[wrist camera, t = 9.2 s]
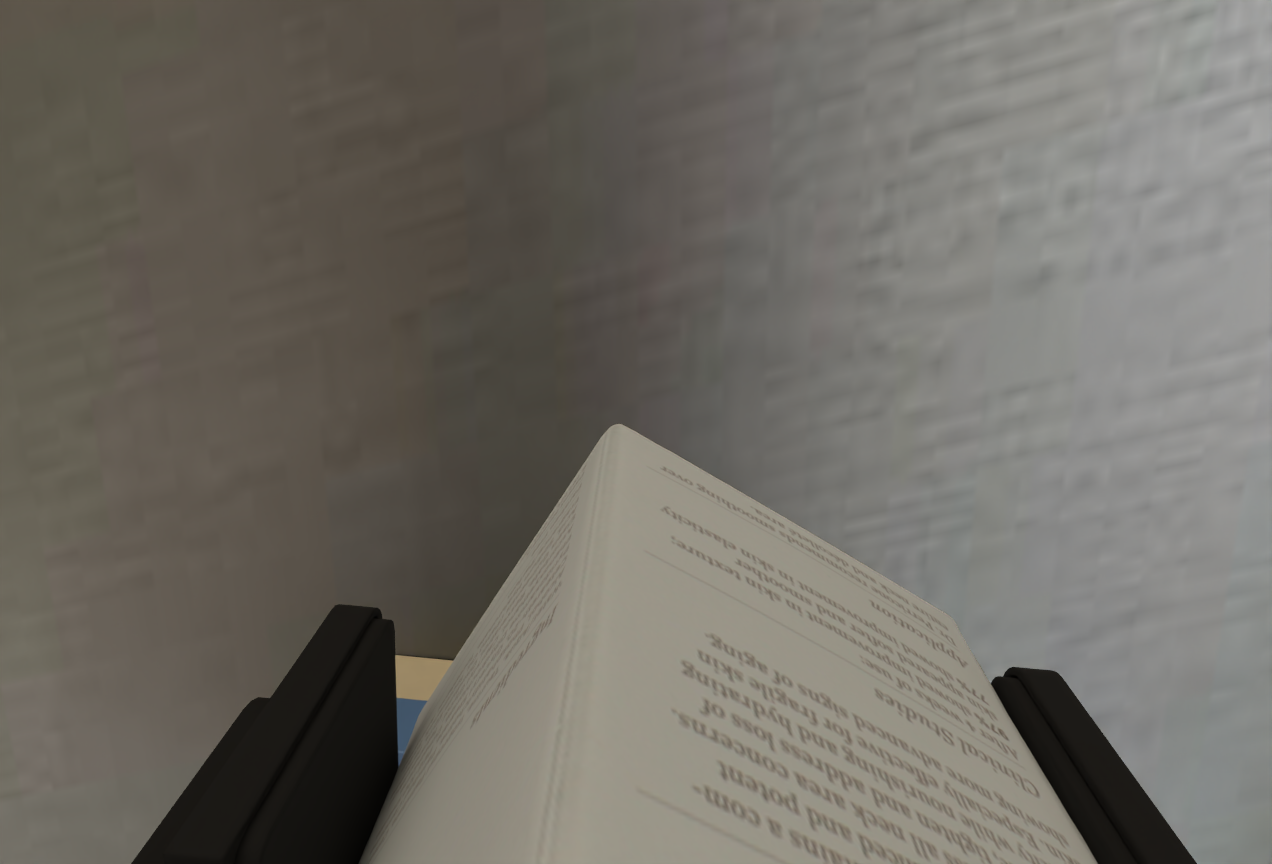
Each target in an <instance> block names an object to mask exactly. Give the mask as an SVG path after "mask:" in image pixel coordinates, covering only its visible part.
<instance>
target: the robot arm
mask: <svg viewBox="0 0 1272 864" xmlns="http://www.w3.org/2000/svg"><path fill="white" fill-rule="evenodd" d="M991 685H992V687H993V688H994V690H995V692H996V694H997V696H998V697H999V699H1000V701H1001V703H1002V705H1003V706H1004V708H1005V710H1006V712H1007V714H1008V715H1009V717H1010V719H1011V720H1012V722H1013V724H1014V725H1015V727H1016V728H1017V730H1018V732H1019V733H1020V735H1021V737H1022V738H1023V740H1024V742H1025V743H1026V745H1027V746H1028V748H1029V750H1030V751H1031V753H1032V755H1033V756H1034V758H1035V760H1036V762H1037V763H1038V765H1039V767H1040V768H1041V770H1042V772H1043V773H1044V775H1045V776H1046V778H1047V780H1048V781H1049V783H1050V785H1051V786H1052V788H1053V790H1054V791H1055V793H1056V795H1057V796H1058V798H1059V800H1060V801H1061V803H1062V805H1063V806H1064V808H1065V810H1066V811H1067V813H1068V815H1069V816H1070V818H1071V820H1072V821H1073V823H1074V824H1075V826H1076V828H1077V829H1078V831H1079V832H1080V834H1081V836H1082V837H1083V839H1084V841H1085V842H1086V844H1087V846H1088V847H1089V849H1090V851H1091V853H1092V854H1093V856H1094V858H1095V860H1096V861H1097V863H1098V864H1197V863H1196V862H1195V860H1194V859H1193V858H1192V856H1191V855H1190V854H1189V852H1188V851H1187V849H1186V848H1185V847H1184V845H1183V844H1182V842H1181V841H1180V840H1179V838H1178V837H1177V836H1176V834H1175V833H1174V831H1173V830H1172V829H1171V827H1170V826H1169V824H1168V823H1167V822H1166V820H1165V819H1164V818H1163V816H1162V815H1161V813H1160V812H1159V811H1158V809H1157V808H1156V807H1155V805H1154V804H1153V802H1152V801H1151V800H1150V798H1149V797H1148V795H1147V794H1146V793H1145V791H1144V790H1143V789H1142V787H1141V786H1140V784H1139V783H1138V782H1137V780H1136V779H1135V777H1134V776H1133V775H1132V773H1131V772H1130V771H1129V769H1128V768H1127V766H1126V765H1125V764H1124V762H1123V761H1122V760H1121V758H1120V757H1119V755H1118V754H1117V753H1116V751H1115V750H1114V748H1113V747H1112V746H1111V744H1110V743H1109V742H1108V740H1107V739H1106V737H1105V736H1104V735H1103V733H1102V732H1101V730H1100V729H1099V728H1098V726H1097V725H1096V724H1095V722H1094V721H1093V719H1092V718H1091V717H1090V715H1089V714H1088V712H1087V711H1086V710H1085V708H1084V707H1083V706H1082V704H1081V703H1080V701H1079V700H1078V699H1077V697H1076V696H1075V695H1074V693H1073V692H1072V690H1071V689H1070V688H1069V686H1068V685H1067V683H1066V682H1065V681H1064V679H1063V678H1062V677H1061V676H1060V675H1059V674H1058V673H1057V672H1054V671H1051V670H1040V669H1030V668H1019V667H1012V668H1009V669H1008V670H1007V671H1006V672H1005V674H1004V676H1003V677H999V676H998V677H995V678H994V679H993V681H992V683H991ZM398 768H399V765H398V731H397V697H396V663H395V630H394V623H393V621H392V620H386V619H382V614H381V611H380V609H378V608H373V607H362V606H352V605H341V604H339V605H336V606H335V607H334V608H333V609H332V610H331V611H330V613H329V614H328V616H327V617H326V619H325V620H324V622H323V623H322V624H321V626H320V627H319V629H318V630H317V632H316V633H315V635H314V636H313V637H312V639H311V640H310V642H309V643H308V645H307V646H306V648H305V649H304V650H303V652H302V653H301V655H300V656H299V658H298V659H297V661H296V662H295V663H294V665H293V666H292V668H291V669H290V671H289V672H288V674H287V675H286V676H285V678H284V679H283V681H282V682H281V684H280V685H279V687H278V688H277V689H276V691H275V692H274V694H273V695H272V697H271V698H260V697H258V698H256V699H254V700H252V701H251V702H250V703H249V704H248V705H247V706H246V707H245V708H244V709H243V710H242V712H241V713H240V715H239V716H238V717H237V719H236V720H235V722H234V723H233V724H232V726H231V727H230V728H229V730H228V731H227V733H226V734H225V735H224V737H223V738H222V739H221V741H220V742H219V744H218V745H217V746H216V748H215V749H214V750H213V752H212V753H211V755H210V756H209V757H208V759H207V760H206V761H205V763H204V764H203V766H202V767H201V768H200V770H199V771H198V773H197V774H196V775H195V777H194V778H193V779H192V781H191V782H190V784H189V785H188V786H187V788H186V789H185V790H184V792H183V793H182V795H181V796H180V797H179V799H178V800H177V801H176V803H175V804H174V806H173V807H172V808H171V810H170V811H169V812H168V814H167V815H166V817H165V818H164V819H163V821H162V822H161V824H160V825H159V826H158V828H157V829H156V830H155V832H154V833H153V835H152V836H151V837H150V839H149V840H148V841H147V843H146V844H145V846H144V847H143V848H142V850H141V851H140V852H139V854H138V855H137V857H136V858H135V859H134V861H133V862H132V863H131V864H359V861H360V859H361V856H362V854H363V851H364V849H365V846H366V844H367V842H368V840H369V837H370V835H371V833H372V830H373V828H374V826H375V823H376V821H377V818H378V816H379V814H380V811H381V809H382V807H383V804H384V802H385V799H386V797H387V795H388V792H389V790H390V788H391V785H392V783H393V780H394V778H395V775H396V773H397V770H398Z"/></svg>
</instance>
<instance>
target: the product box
mask: <svg viewBox="0 0 1272 864" xmlns="http://www.w3.org/2000/svg"><path fill="white" fill-rule="evenodd" d="M359 864H1098V863H1097V861H1096V860H1095V858H1094V856H1093V854H1092V853H1091V851H1090V849H1089V847H1088V846H1087V844H1086V842H1085V841H1084V839H1083V837H1082V836H1081V834H1080V832H1079V831H1078V829H1077V828H1076V826H1075V824H1074V823H1073V821H1072V820H1071V818H1070V816H1069V815H1068V813H1067V811H1066V810H1065V808H1064V806H1063V805H1062V803H1061V801H1060V800H1059V798H1058V796H1057V795H1056V793H1055V791H1054V790H1053V788H1052V786H1051V785H1050V783H1049V781H1048V780H1047V778H1046V776H1045V775H1044V773H1043V772H1042V770H1041V768H1040V767H1039V765H1038V763H1037V762H1036V760H1035V758H1034V756H1033V755H1032V753H1031V751H1030V750H1029V748H1028V746H1027V745H1026V743H1025V742H1024V740H1023V738H1022V737H1021V735H1020V733H1019V732H1018V730H1017V728H1016V727H1015V725H1014V724H1013V722H1012V720H1011V719H1010V717H1009V715H1008V714H1007V712H1006V710H1005V708H1004V706H1003V705H1002V703H1001V701H1000V699H999V697H998V696H997V694H996V692H995V690H994V688H993V687H992V685H991V683H990V682H989V680H988V679H987V677H986V675H985V674H984V672H983V670H982V668H981V666H980V665H979V663H978V662H977V660H976V658H975V657H974V655H973V653H972V652H971V650H970V648H969V647H968V645H967V643H966V642H965V640H964V638H963V636H962V634H961V633H960V631H959V629H958V627H957V625H956V623H955V621H954V620H953V619H952V618H951V616H949V615H947V614H946V613H944V612H942V611H941V610H939V609H937V608H936V607H934V606H932V605H931V604H929V603H927V602H926V601H924V600H922V599H921V598H919V597H917V596H916V595H914V594H912V593H911V592H909V591H907V590H906V589H904V588H902V587H901V586H899V585H897V584H896V583H894V582H892V581H891V580H889V579H887V578H886V577H884V576H882V575H881V574H879V573H877V572H876V571H874V570H872V569H871V568H869V567H867V566H866V565H864V564H862V563H861V562H859V561H857V560H856V559H854V558H852V557H851V556H849V555H847V554H846V553H844V552H842V551H840V550H839V549H837V548H835V547H834V546H832V545H830V544H829V543H827V542H825V541H824V540H822V539H820V538H819V537H817V536H815V535H813V534H812V533H810V532H808V531H807V530H805V529H803V528H801V527H800V526H798V525H796V524H795V523H793V522H791V521H790V520H788V519H786V518H784V517H783V516H781V515H779V514H778V513H776V512H774V511H772V510H771V509H769V508H767V507H766V506H764V505H762V504H761V503H759V502H757V501H755V500H754V499H752V498H750V497H748V496H747V495H745V494H743V493H742V492H740V491H738V490H736V489H735V488H733V487H731V486H729V485H728V484H726V483H724V482H722V481H721V480H719V479H717V478H715V477H714V476H712V475H710V474H709V473H707V472H705V471H703V470H702V469H700V468H698V467H697V466H695V465H693V464H691V463H690V462H688V461H686V460H685V459H683V458H681V457H679V456H678V455H676V454H674V453H673V452H671V451H669V450H667V449H665V448H663V447H661V446H659V445H658V444H656V443H654V442H652V441H651V440H649V439H647V438H646V437H644V436H642V435H640V434H639V433H637V432H635V431H633V430H632V429H630V428H628V427H626V426H624V425H622V424H616V425H613V426H611V427H609V429H608V430H607V431H606V432H605V433H604V434H603V436H602V437H601V438H600V440H599V441H598V443H597V444H596V446H595V447H594V449H593V450H592V452H591V454H590V455H589V457H588V458H587V460H586V461H585V463H584V464H583V466H582V467H581V469H580V470H579V472H578V473H577V475H576V476H575V478H574V479H573V481H572V482H571V484H570V485H569V487H568V488H567V490H566V491H565V493H564V494H563V496H562V497H561V499H560V500H559V502H558V503H557V505H556V506H555V508H554V509H553V511H552V512H551V514H550V515H549V517H548V518H547V520H546V521H545V523H544V524H543V526H542V527H541V529H540V530H539V532H538V533H537V535H536V536H535V538H534V539H533V541H532V542H531V544H530V545H529V547H528V548H527V550H526V551H525V553H524V554H523V556H522V557H521V559H520V560H519V562H518V563H517V565H516V566H515V568H514V569H513V571H512V572H511V574H510V575H509V577H508V578H507V580H506V581H505V583H504V584H503V586H502V587H501V589H500V590H499V592H498V593H497V595H496V596H495V598H494V599H493V601H492V602H491V604H490V606H489V607H488V609H487V610H486V612H485V613H484V615H483V616H482V618H481V619H480V621H479V622H478V624H477V625H476V627H475V628H474V630H473V632H472V633H471V635H470V636H469V638H468V639H467V641H466V642H465V644H464V645H463V647H462V648H461V650H460V651H459V653H458V655H457V656H456V658H455V659H454V661H453V662H452V664H451V665H450V667H449V669H448V670H447V672H446V673H445V675H444V676H443V678H442V679H441V681H440V682H439V684H438V686H437V687H436V689H435V690H434V692H433V693H432V695H431V697H430V698H429V700H428V701H427V703H426V704H425V706H424V707H423V709H422V711H421V713H420V714H419V716H418V719H417V721H416V724H415V727H414V729H413V732H412V735H411V737H410V740H409V743H408V745H407V748H406V750H405V753H404V755H403V758H402V760H401V763H400V765H399V768H398V770H397V773H396V775H395V778H394V780H393V783H392V785H391V788H390V790H389V792H388V795H387V797H386V799H385V802H384V804H383V807H382V809H381V811H380V814H379V816H378V818H377V821H376V823H375V826H374V828H373V830H372V833H371V835H370V837H369V840H368V842H367V844H366V846H365V849H364V851H363V854H362V856H361V859H360V861H359Z"/></svg>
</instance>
